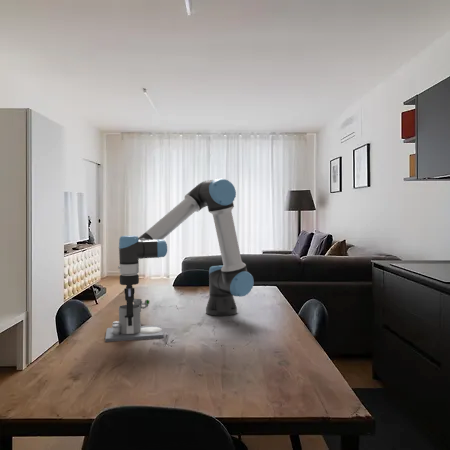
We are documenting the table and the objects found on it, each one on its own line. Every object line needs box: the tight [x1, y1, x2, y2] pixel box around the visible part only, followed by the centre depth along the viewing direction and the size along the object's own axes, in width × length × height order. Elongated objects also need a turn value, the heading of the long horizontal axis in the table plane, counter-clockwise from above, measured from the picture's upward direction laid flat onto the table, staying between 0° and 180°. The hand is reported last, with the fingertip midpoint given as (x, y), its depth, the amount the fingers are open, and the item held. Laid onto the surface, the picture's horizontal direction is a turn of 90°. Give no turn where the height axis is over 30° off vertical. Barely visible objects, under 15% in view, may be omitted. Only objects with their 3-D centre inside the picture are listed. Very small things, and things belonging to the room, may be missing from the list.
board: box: [104, 320, 165, 343], centre depth 177 cm, size 22×16×5 cm
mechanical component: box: [133, 298, 150, 313], centre depth 198 cm, size 3×10×10 cm, turn 78°
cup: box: [118, 303, 142, 334], centre depth 176 cm, size 8×8×10 cm
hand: (130, 330), depth 177 cm, fingers closed on cup, 8 cm apart
